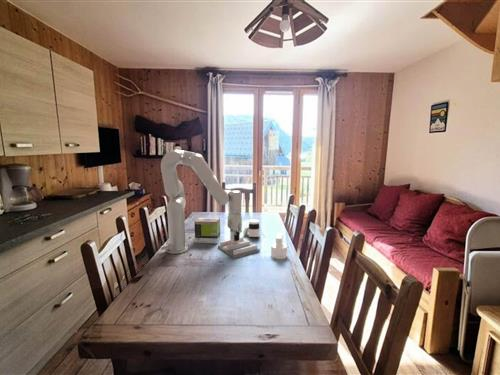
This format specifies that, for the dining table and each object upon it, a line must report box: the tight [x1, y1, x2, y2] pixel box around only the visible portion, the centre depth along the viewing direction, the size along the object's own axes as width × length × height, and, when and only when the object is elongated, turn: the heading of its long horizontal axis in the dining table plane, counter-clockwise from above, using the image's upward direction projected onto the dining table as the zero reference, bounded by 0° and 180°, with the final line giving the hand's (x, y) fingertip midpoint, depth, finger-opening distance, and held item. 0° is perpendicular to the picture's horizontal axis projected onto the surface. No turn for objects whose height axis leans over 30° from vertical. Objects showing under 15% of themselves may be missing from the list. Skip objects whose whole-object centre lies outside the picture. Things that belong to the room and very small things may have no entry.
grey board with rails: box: [217, 236, 261, 260], centre depth 156 cm, size 18×19×4 cm
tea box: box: [193, 217, 221, 244], centre depth 170 cm, size 15×10×15 cm, turn 84°
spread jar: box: [242, 219, 261, 239], centre depth 179 cm, size 12×11×12 cm
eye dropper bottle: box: [229, 230, 241, 245], centre depth 158 cm, size 4×6×12 cm
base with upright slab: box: [270, 232, 288, 260], centre depth 148 cm, size 9×9×12 cm
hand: (234, 239), depth 159 cm, fingers closed on eye dropper bottle, 3 cm apart
